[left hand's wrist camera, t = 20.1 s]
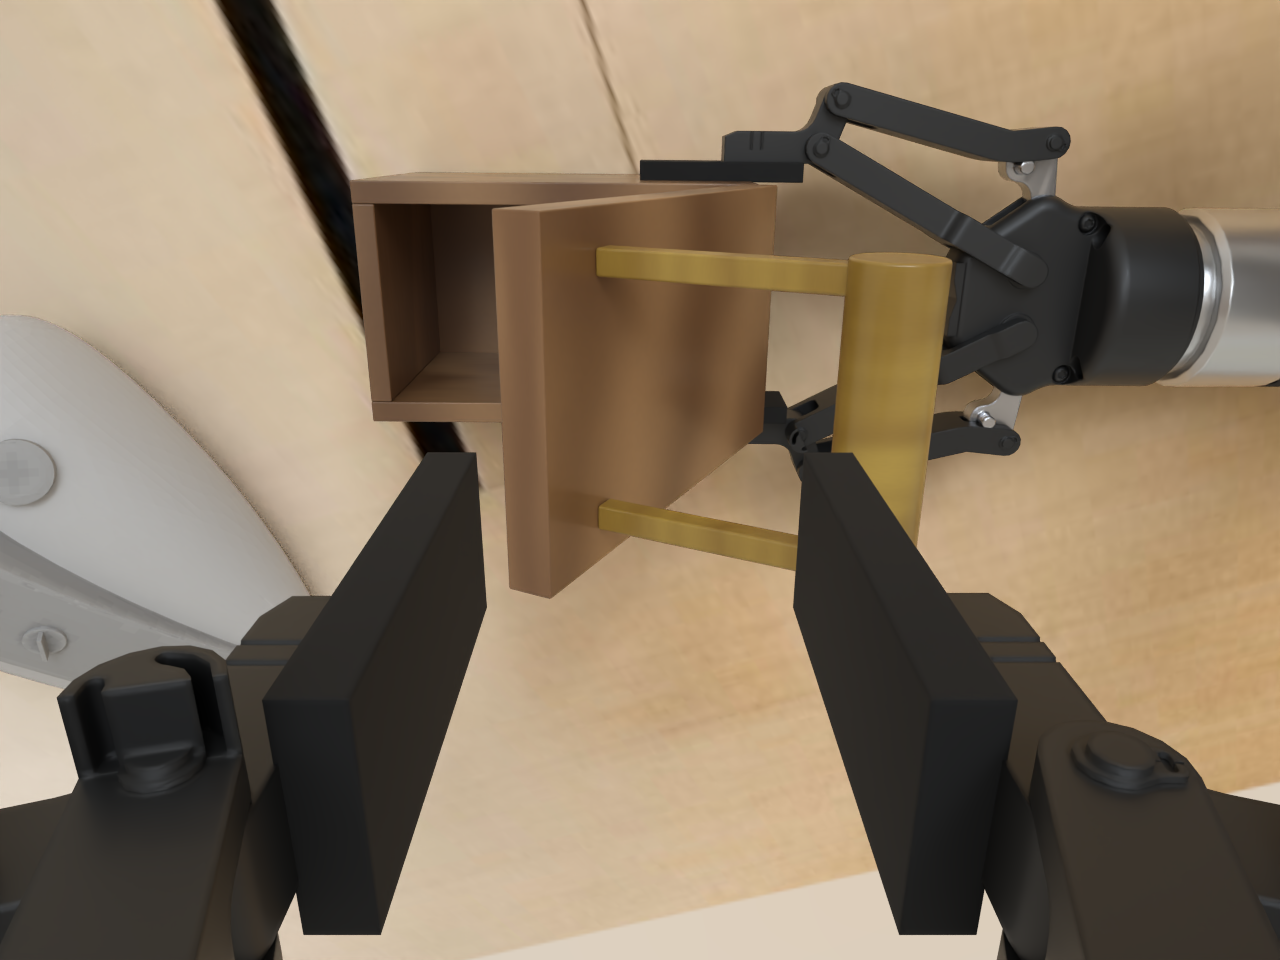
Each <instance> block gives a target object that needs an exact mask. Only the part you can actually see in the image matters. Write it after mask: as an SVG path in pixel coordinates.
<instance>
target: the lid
mask: <svg viewBox="0 0 1280 960" xmlns="http://www.w3.org/2000/svg"><path fill="white" fill-rule="evenodd" d="M776 199H777V186H776V185H748V184H745V185H735V186H724V187H714V188H703V189H693V190H682V191H672V192H661V193H651V194H640V195H630V196H620V197H609V198H599V199H588V200H578V201H567V202H557V203H546V204H536V205H525V206H515V207H504V208H494V209H492V226H493V247H494V268H495V290H496V311H497V332H498V353H499V374H500V396H501V417H502V438H503V459H504V481H505V502H506V523H507V544H508V565H509V587H510V589H514V590H518V591H522V592H525V593H529V594H533V595H537V596H541V597H545V598H549V599H551V598H552V597H554V596H555V595H556V594H557V593H559V592H560V591H561V590H562V589H564V588H565V587H566V586H568V585H569V584H570V583H571V582H573V581H574V580H575V579H576V578H578V577H579V576H580V575H581V574H583V573H584V572H585V571H587V570H588V569H589V568H590V567H592V566H593V565H594V564H595V563H597V562H598V561H599V560H601V559H602V558H603V557H604V556H606V555H607V554H608V553H609V552H611V551H612V550H613V549H615V548H616V547H617V546H618V545H620V544H621V543H622V542H623V541H625V540H626V539H627V538H628V537H630V536H634V537H638V538H643V539H648V540H652V541H657V542H662V543H666V544H671V545H676V546H680V547H685V548H690V549H694V550H699V551H704V552H709V553H713V554H718V555H723V556H727V557H732V558H737V559H741V560H746V561H751V562H755V563H760V564H765V565H769V566H774V567H779V568H783V569H788V570H793V571H796V559H797V545H798V535H793V534H788V533H783V532H778V531H773V530H767V529H762V528H757V527H752V526H747V525H742V524H737V523H732V522H727V521H722V520H717V519H711V518H706V517H701V516H696V515H691V514H686V513H681V512H676V511H671V510H666V509H665V508H667V507H668V506H669V505H670V504H672V503H673V502H674V501H675V500H677V499H678V498H679V497H681V496H682V495H683V494H684V493H686V492H687V491H688V490H689V489H691V488H692V487H693V486H695V485H696V484H697V483H698V482H700V481H701V480H702V479H703V478H705V477H706V476H707V475H708V474H710V473H711V472H712V471H714V470H715V469H716V468H717V467H719V466H720V465H721V464H722V463H724V462H725V461H726V460H728V459H729V458H730V457H731V456H733V455H734V454H735V453H736V452H738V451H739V450H740V449H741V448H743V447H744V446H745V445H747V444H748V443H749V442H750V441H752V440H753V439H754V438H755V437H757V436H758V435H759V434H761V433H762V432H763V420H764V403H765V386H766V369H767V352H768V335H769V318H770V301H771V291H783V292H795V293H808V294H821V295H833V296H845V301H844V313H843V324H842V336H841V347H840V359H839V370H838V381H837V393H836V404H835V416H834V427H833V439H832V450H831V453H853V454H854V455H855V457H856V458H857V460H858V461H859V463H860V464H861V466H862V467H863V469H864V470H865V472H866V473H867V475H868V476H869V478H870V479H871V481H872V482H873V484H874V485H875V487H876V488H877V490H878V491H879V493H880V494H881V496H882V497H883V499H884V500H885V502H886V503H887V505H888V506H889V508H890V509H891V511H892V512H893V514H894V515H895V517H896V518H897V520H898V521H899V523H900V524H901V526H902V527H903V529H904V530H905V532H906V533H907V535H908V536H909V538H910V539H911V541H912V542H913V544H914V545H915V547H916V548H917V541H918V533H919V525H920V517H921V509H922V501H923V494H924V486H925V478H926V470H927V462H928V454H929V446H930V439H931V431H932V423H933V415H934V407H935V399H936V391H937V383H938V376H939V368H940V360H941V352H942V344H943V336H944V328H945V321H946V313H947V305H948V297H949V289H950V281H951V273H952V266H953V263H952V260H950V259H948V258H945V257H941V256H935V255H927V254H916V253H896V252H874V253H860V254H855V255H852V256H850V257H849V259H848V260H837V259H821V258H805V257H789V256H774V255H773V250H774V233H775V216H776Z"/></svg>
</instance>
